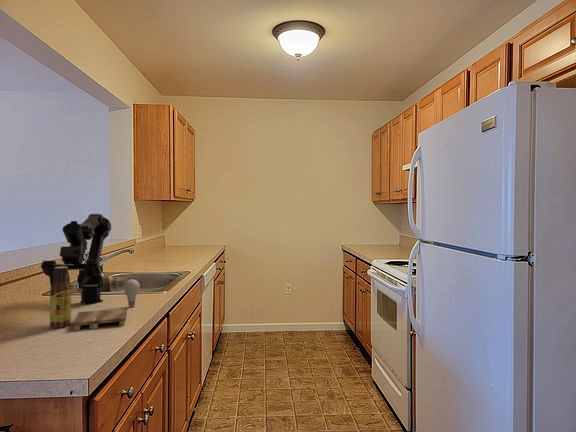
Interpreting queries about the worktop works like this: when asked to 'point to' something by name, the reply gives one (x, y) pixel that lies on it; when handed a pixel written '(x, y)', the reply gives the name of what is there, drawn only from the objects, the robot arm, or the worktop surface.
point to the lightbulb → (131, 291)
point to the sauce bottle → (60, 299)
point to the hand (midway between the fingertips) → (65, 286)
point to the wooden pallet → (100, 318)
